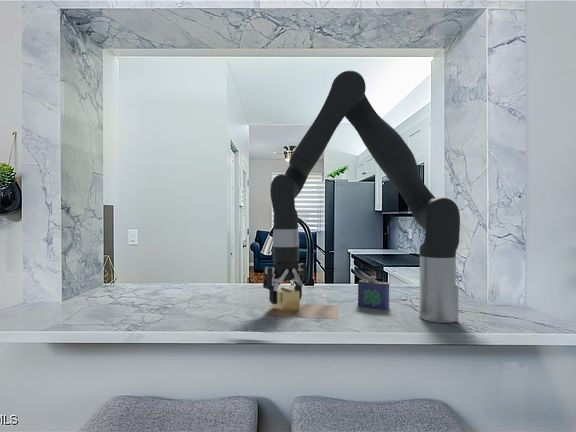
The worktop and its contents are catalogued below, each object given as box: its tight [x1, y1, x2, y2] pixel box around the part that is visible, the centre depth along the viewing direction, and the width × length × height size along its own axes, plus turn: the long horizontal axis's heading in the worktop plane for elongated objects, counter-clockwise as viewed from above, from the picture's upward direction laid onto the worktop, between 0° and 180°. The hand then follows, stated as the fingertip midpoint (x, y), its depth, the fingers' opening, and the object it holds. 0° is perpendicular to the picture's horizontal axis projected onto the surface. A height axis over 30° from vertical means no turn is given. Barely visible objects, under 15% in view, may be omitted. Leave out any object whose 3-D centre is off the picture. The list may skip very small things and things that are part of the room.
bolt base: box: [262, 303, 340, 320], centre depth 99 cm, size 20×14×6 cm
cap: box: [273, 287, 301, 313], centre depth 100 cm, size 6×6×6 cm
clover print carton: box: [357, 275, 390, 310], centre depth 103 cm, size 9×3×11 cm, turn 63°
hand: (286, 301), depth 100 cm, fingers open, 8 cm apart
